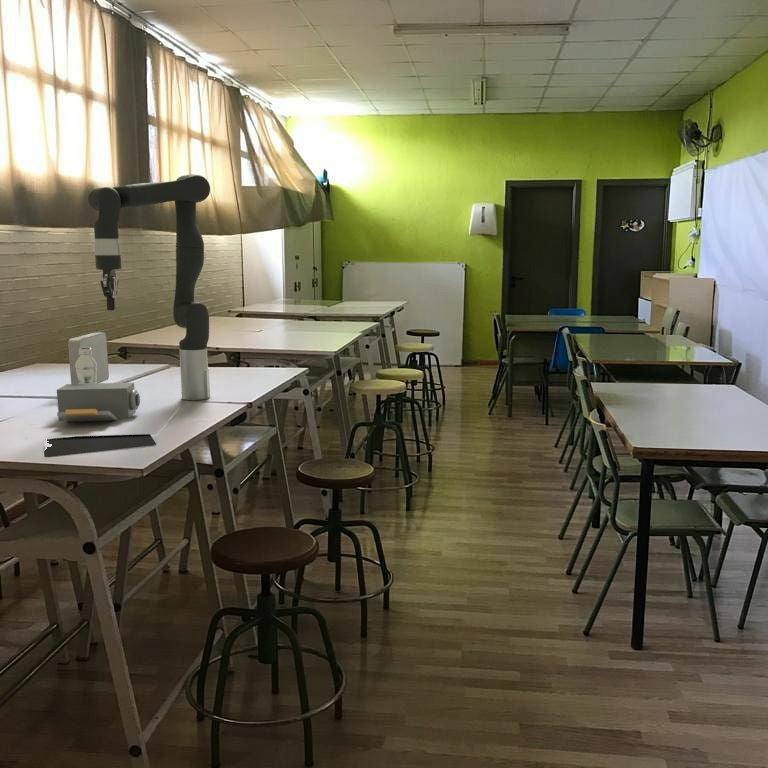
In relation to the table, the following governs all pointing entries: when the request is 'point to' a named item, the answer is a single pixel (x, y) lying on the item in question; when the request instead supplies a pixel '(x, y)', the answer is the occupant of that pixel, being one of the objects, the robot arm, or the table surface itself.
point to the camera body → (100, 398)
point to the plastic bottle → (86, 367)
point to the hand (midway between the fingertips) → (111, 310)
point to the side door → (86, 415)
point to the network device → (98, 353)
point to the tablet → (96, 444)
